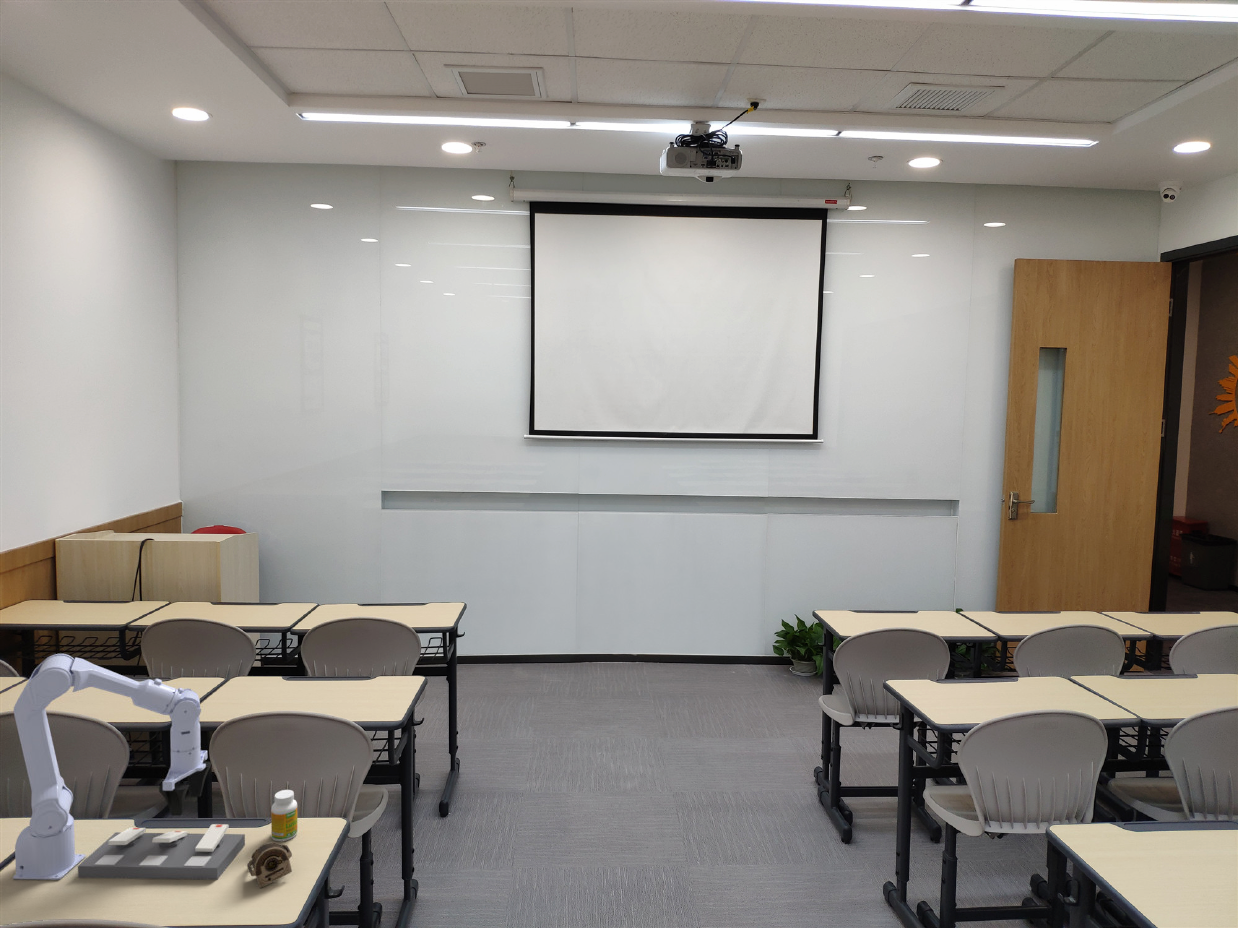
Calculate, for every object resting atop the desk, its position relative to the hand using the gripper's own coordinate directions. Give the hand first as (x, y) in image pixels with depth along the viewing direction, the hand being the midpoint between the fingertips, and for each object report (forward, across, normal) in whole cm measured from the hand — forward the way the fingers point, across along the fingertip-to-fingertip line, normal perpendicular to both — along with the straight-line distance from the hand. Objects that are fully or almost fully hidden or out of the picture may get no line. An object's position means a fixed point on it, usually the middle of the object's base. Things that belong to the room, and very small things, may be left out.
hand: (186, 805), depth 168 cm
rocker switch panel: (+8, -9, 0) cm, 11 cm away
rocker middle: (+4, -7, 0) cm, 8 cm away
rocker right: (+4, -7, -9) cm, 12 cm away
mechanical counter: (+8, -11, -23) cm, 27 cm away
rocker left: (+4, -7, +9) cm, 12 cm away
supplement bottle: (+8, +1, -21) cm, 22 cm away
